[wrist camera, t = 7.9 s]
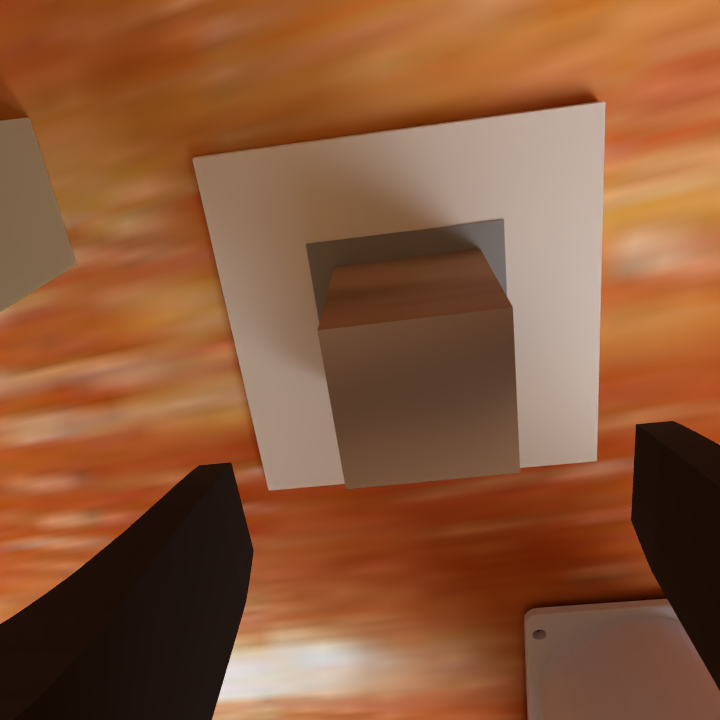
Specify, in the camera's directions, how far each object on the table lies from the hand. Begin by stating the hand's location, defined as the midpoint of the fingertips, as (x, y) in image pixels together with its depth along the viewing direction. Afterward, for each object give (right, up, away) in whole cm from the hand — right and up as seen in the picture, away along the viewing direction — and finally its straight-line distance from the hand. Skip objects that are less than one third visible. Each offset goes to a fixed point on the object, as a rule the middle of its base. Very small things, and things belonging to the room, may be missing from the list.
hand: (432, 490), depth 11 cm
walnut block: (0, +3, +8) cm, 8 cm away
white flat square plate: (0, +4, +8) cm, 9 cm away
